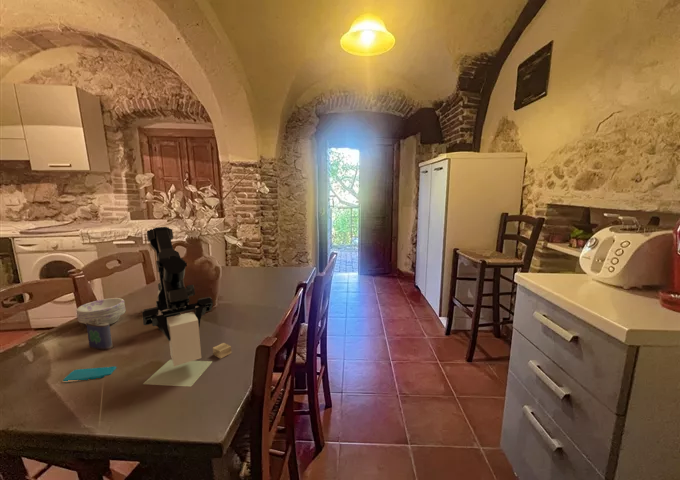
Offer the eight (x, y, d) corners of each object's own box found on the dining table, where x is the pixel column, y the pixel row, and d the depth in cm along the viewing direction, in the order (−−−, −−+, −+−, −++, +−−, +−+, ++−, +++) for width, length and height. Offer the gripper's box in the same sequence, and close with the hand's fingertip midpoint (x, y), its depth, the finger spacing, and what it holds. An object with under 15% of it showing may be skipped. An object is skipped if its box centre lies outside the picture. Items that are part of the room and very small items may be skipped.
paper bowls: (100, 314, 130) (98, 296, 129) (135, 314, 129) (133, 297, 128) (68, 331, 115) (64, 311, 114) (107, 331, 114) (104, 312, 113)
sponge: (105, 378, 85) (117, 364, 91) (59, 381, 84) (74, 367, 90) (106, 383, 86) (118, 368, 91) (60, 386, 85) (75, 371, 90)
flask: (114, 347, 103) (110, 317, 102) (106, 351, 101) (101, 321, 99) (94, 343, 106) (90, 314, 104) (85, 347, 103) (81, 318, 101)
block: (213, 356, 98) (212, 347, 98) (224, 350, 101) (223, 342, 101) (220, 360, 96) (220, 351, 95) (231, 354, 99) (231, 346, 98)
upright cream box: (170, 354, 91) (166, 317, 89) (196, 347, 95) (193, 311, 93) (173, 366, 85) (169, 326, 83) (201, 358, 89) (198, 320, 87)
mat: (142, 385, 83) (142, 383, 83) (170, 360, 95) (169, 359, 95) (191, 387, 82) (191, 386, 82) (212, 362, 94) (212, 361, 94)
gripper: (138, 282, 84) (145, 335, 78) (209, 272, 95) (220, 317, 88) (140, 300, 92) (146, 349, 85) (205, 289, 103) (216, 331, 96)
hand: (184, 336), depth 88 cm, fingers closed on upright cream box, 7 cm apart
